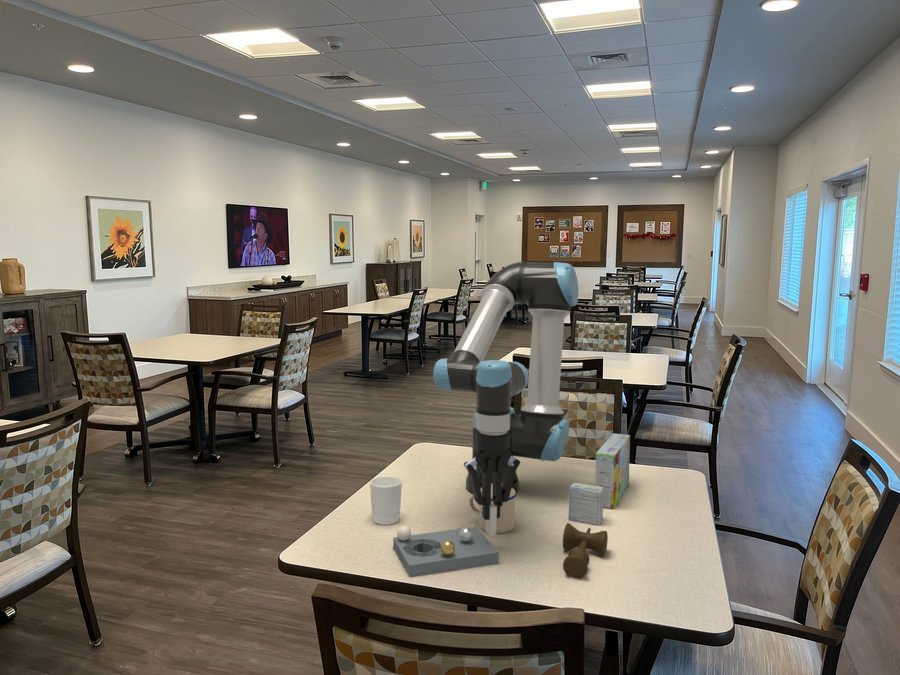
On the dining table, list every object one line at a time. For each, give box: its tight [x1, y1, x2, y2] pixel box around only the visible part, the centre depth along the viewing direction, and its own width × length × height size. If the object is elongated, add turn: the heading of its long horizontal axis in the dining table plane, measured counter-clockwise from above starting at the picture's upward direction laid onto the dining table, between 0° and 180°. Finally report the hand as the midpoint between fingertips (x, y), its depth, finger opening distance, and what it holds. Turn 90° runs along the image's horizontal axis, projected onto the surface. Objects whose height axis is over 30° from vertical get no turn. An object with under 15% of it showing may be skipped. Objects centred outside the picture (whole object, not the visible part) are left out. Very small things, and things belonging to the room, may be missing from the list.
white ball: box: [396, 525, 412, 541], centre depth 146 cm, size 3×3×3 cm
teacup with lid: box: [468, 484, 517, 534], centre depth 160 cm, size 12×9×12 cm
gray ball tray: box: [392, 526, 500, 578], centre depth 144 cm, size 20×14×2 cm
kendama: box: [562, 522, 609, 579], centre depth 144 cm, size 6×10×20 cm
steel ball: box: [459, 526, 473, 542], centre depth 146 cm, size 3×3×3 cm
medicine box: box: [567, 482, 604, 526], centre depth 164 cm, size 8×4×9 cm, turn 65°
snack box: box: [594, 433, 631, 510], centre depth 181 cm, size 21×6×15 cm, turn 154°
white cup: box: [369, 475, 403, 526], centre depth 163 cm, size 8×8×10 cm
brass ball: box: [440, 540, 455, 556], centre depth 139 cm, size 3×3×3 cm
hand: (490, 532), depth 147 cm, fingers closed
